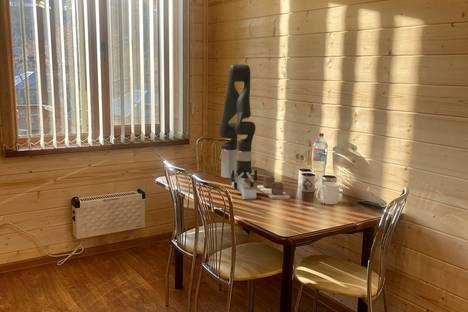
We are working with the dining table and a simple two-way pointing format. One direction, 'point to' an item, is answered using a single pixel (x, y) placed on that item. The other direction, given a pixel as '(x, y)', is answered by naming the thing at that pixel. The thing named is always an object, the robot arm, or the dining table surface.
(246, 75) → the robot arm
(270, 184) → the peg rack
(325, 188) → the mug
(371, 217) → the dining table surface
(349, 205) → the dining table surface
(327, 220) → the dining table surface
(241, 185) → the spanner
